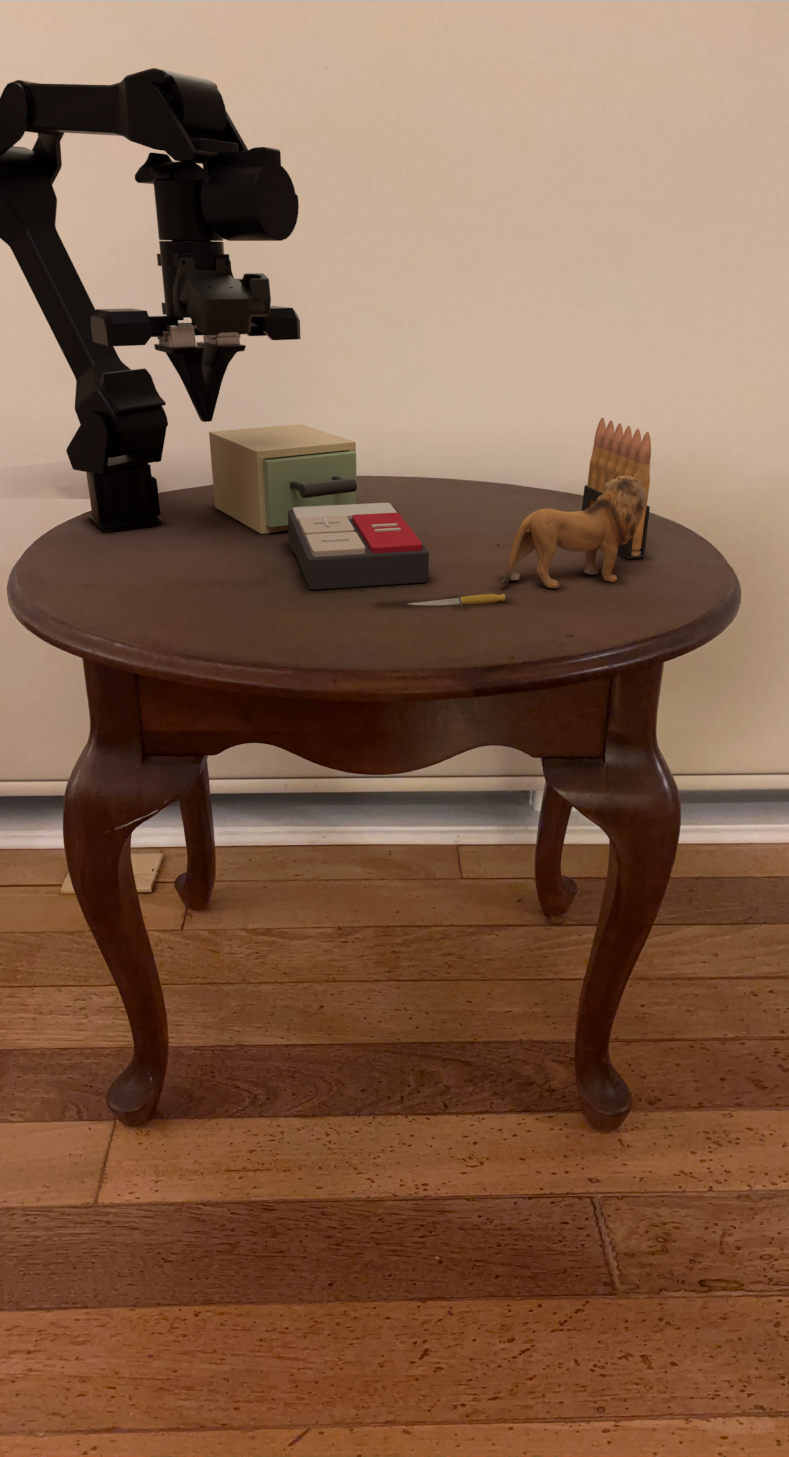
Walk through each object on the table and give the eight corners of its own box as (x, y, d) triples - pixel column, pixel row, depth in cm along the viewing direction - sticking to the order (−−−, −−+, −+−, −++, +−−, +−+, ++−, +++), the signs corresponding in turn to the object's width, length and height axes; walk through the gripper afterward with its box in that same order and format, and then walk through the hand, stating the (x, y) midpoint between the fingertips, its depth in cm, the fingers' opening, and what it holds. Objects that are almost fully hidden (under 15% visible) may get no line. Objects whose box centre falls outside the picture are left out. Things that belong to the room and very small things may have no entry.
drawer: (375, 523, 99) (375, 459, 96) (287, 536, 95) (284, 468, 91) (307, 493, 112) (305, 434, 109) (226, 503, 107) (221, 442, 104)
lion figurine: (614, 562, 90) (625, 468, 86) (650, 577, 86) (664, 479, 82) (485, 582, 85) (490, 482, 81) (517, 599, 80) (524, 495, 76)
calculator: (308, 550, 80) (286, 501, 93) (309, 597, 82) (288, 543, 95) (430, 543, 82) (393, 496, 95) (428, 589, 85) (392, 537, 97)
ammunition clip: (644, 558, 92) (661, 432, 86) (628, 559, 91) (643, 433, 86) (593, 531, 101) (606, 415, 95) (578, 532, 100) (589, 416, 95)
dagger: (384, 609, 78) (382, 597, 80) (385, 618, 79) (382, 606, 80) (508, 599, 79) (503, 587, 80) (508, 608, 79) (503, 596, 81)
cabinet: (356, 520, 104) (355, 441, 100) (261, 534, 99) (256, 451, 95) (303, 496, 114) (300, 423, 111) (214, 507, 109) (208, 431, 105)
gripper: (113, 238, 73) (137, 442, 80) (324, 241, 82) (328, 425, 89) (78, 239, 82) (102, 424, 89) (272, 242, 90) (280, 410, 97)
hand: (206, 421), depth 91 cm, fingers closed
